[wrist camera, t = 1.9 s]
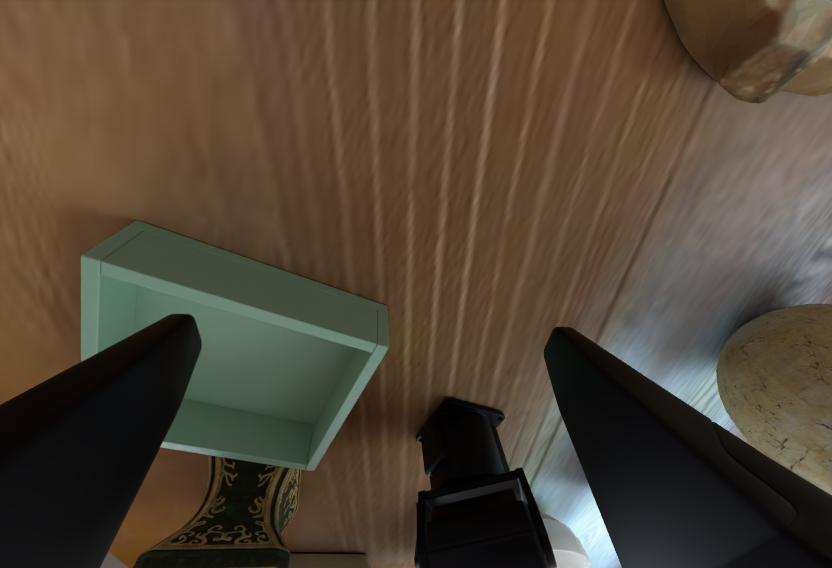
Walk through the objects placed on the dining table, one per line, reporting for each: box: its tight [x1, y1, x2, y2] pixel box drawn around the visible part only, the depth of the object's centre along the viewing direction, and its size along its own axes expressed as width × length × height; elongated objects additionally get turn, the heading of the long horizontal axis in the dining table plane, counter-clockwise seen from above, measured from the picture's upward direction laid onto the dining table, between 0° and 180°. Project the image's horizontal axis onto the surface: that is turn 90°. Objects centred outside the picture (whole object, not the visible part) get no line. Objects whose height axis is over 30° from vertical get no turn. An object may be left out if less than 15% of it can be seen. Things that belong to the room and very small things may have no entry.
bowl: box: [540, 512, 591, 568], centre depth 43 cm, size 20×20×6 cm
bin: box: [81, 220, 389, 471], centre depth 23 cm, size 16×15×4 cm
